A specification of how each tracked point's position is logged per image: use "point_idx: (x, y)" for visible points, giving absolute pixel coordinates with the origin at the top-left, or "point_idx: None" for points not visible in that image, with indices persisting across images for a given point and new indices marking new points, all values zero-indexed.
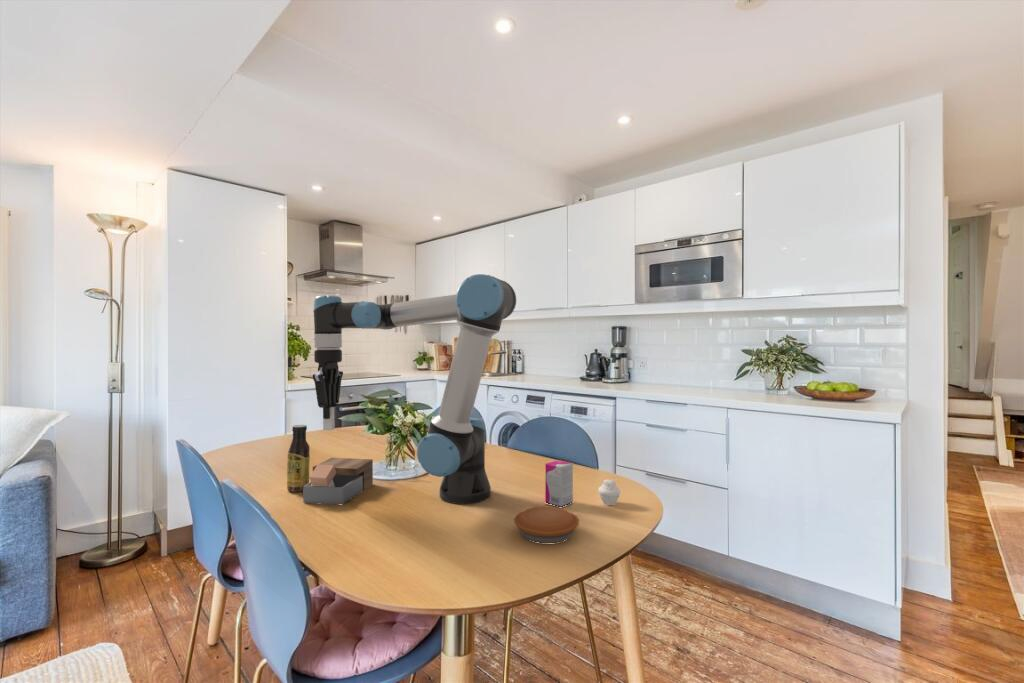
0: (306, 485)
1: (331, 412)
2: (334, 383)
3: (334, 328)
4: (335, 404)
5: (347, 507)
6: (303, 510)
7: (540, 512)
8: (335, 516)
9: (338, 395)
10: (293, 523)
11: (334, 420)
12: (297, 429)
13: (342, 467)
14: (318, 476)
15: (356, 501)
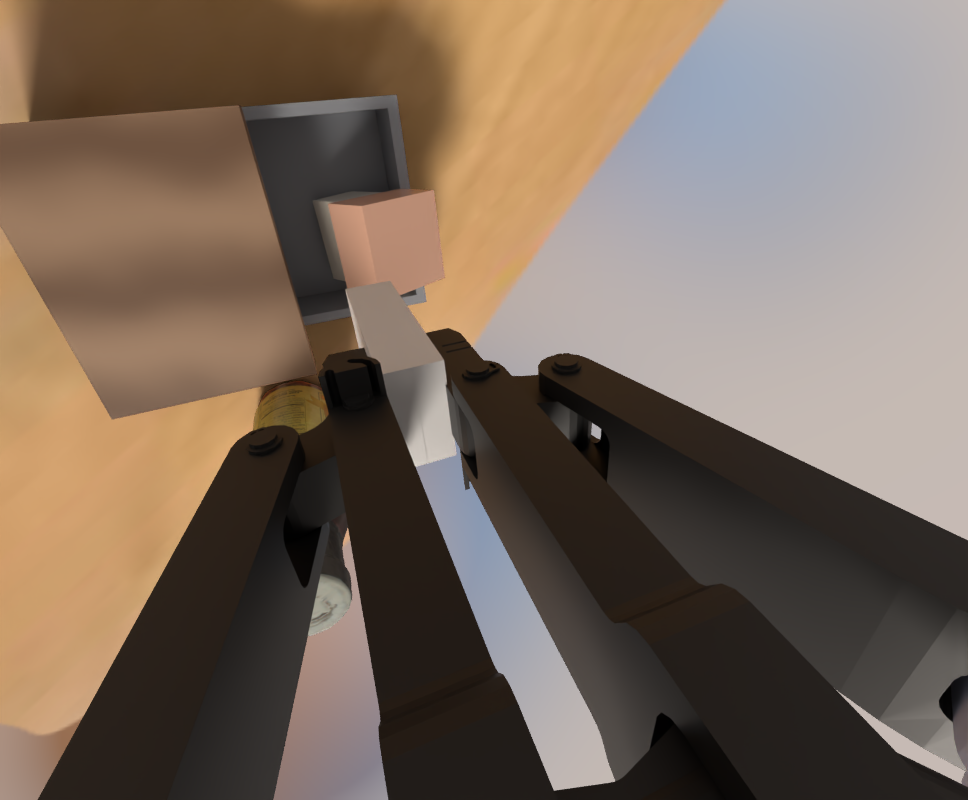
0: (415, 295)
1: (429, 340)
2: (473, 682)
3: None
4: (359, 391)
5: (397, 55)
6: (471, 226)
7: None
8: (496, 47)
9: (238, 511)
10: (573, 172)
11: (354, 315)
12: (345, 574)
13: (254, 217)
14: (434, 235)
15: (316, 55)
